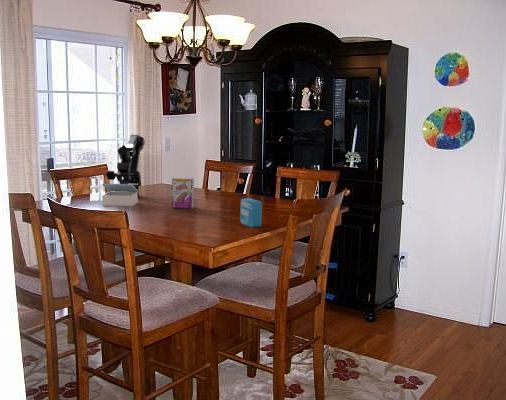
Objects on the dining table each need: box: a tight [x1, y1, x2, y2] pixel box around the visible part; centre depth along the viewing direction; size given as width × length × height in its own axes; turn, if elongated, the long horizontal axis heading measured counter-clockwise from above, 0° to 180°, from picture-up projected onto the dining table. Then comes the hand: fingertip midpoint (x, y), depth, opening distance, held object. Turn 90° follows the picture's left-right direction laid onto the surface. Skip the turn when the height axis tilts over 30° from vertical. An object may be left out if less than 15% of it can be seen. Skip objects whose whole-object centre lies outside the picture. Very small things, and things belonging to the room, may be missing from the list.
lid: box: [102, 183, 138, 192], centre depth 294 cm, size 14×16×1 cm
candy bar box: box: [171, 176, 195, 210], centre depth 287 cm, size 11×5×16 cm, turn 84°
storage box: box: [101, 191, 139, 208], centre depth 294 cm, size 14×16×6 cm
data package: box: [239, 197, 263, 228], centre depth 247 cm, size 12×4×12 cm, turn 31°
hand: (121, 187), depth 296 cm, fingers closed, pressing on lid
